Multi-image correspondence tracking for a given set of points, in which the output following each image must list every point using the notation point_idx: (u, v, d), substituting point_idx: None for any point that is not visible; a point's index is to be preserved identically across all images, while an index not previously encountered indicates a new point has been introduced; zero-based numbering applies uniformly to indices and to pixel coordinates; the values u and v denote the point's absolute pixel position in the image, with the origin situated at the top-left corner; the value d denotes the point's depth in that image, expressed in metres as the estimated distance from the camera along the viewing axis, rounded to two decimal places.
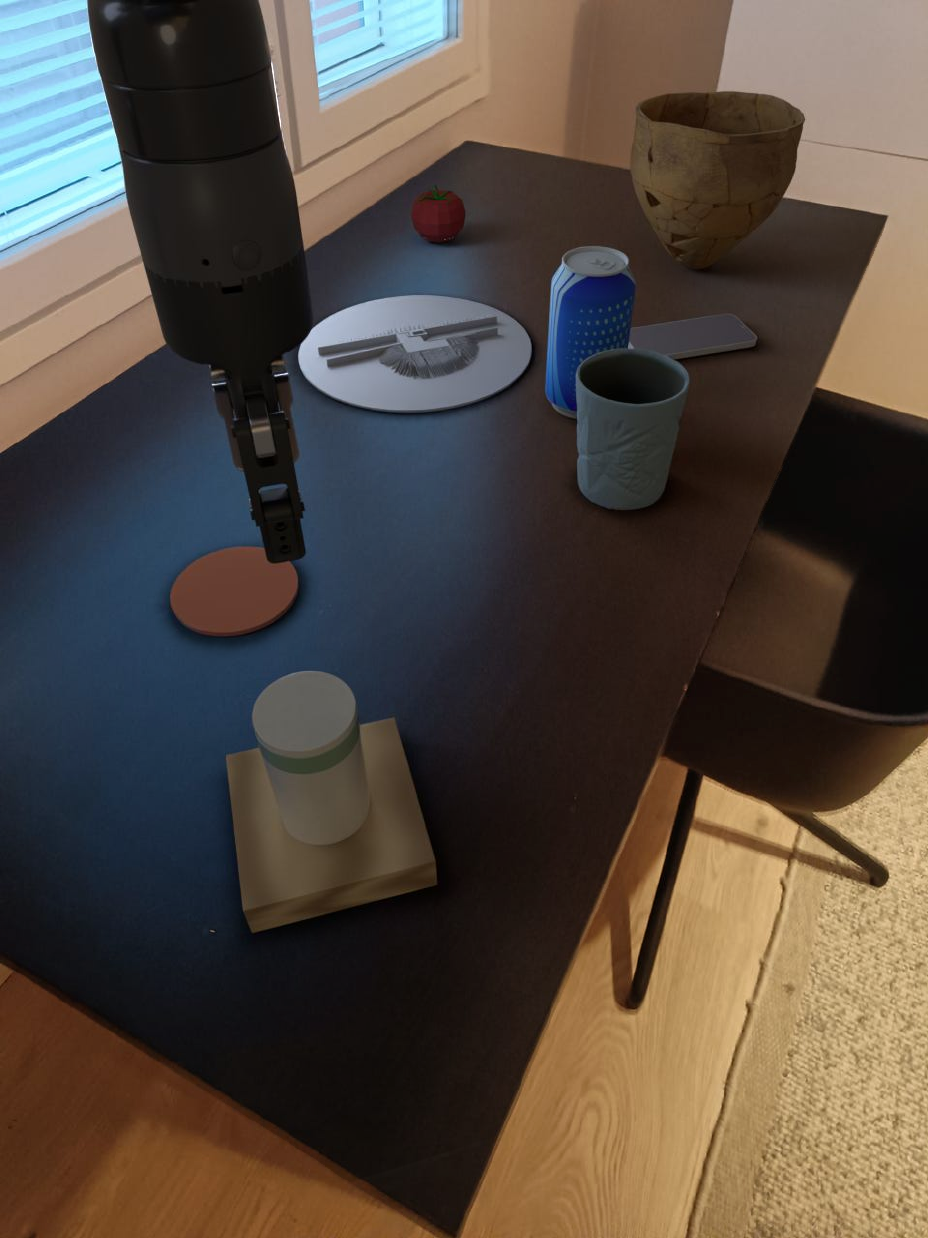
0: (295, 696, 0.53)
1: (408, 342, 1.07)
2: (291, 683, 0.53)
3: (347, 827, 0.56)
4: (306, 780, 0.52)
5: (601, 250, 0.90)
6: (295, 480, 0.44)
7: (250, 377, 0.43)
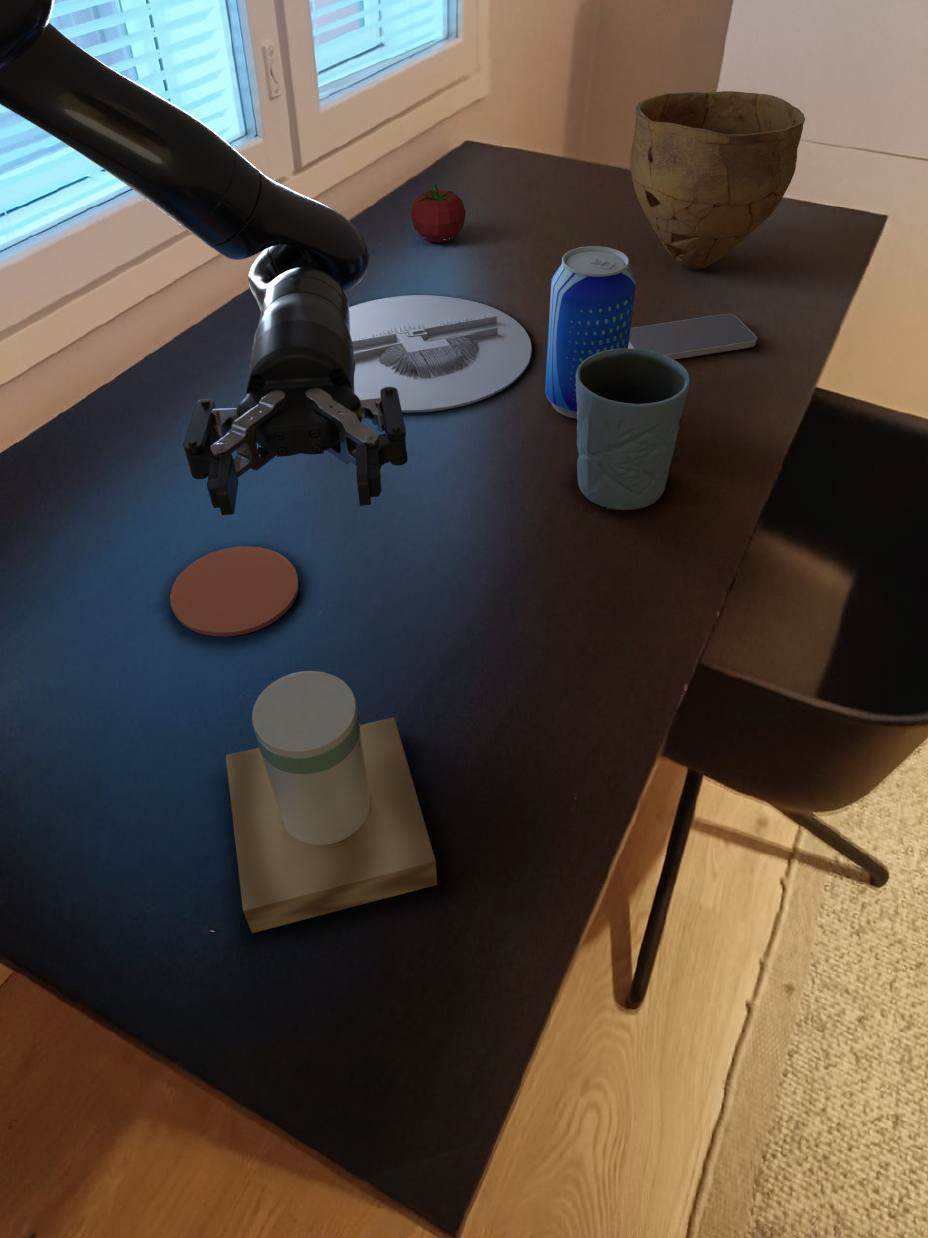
0: (295, 696, 0.53)
1: (408, 342, 1.07)
2: (291, 683, 0.53)
3: (347, 827, 0.56)
4: (306, 780, 0.52)
5: (601, 250, 0.90)
6: None
7: None
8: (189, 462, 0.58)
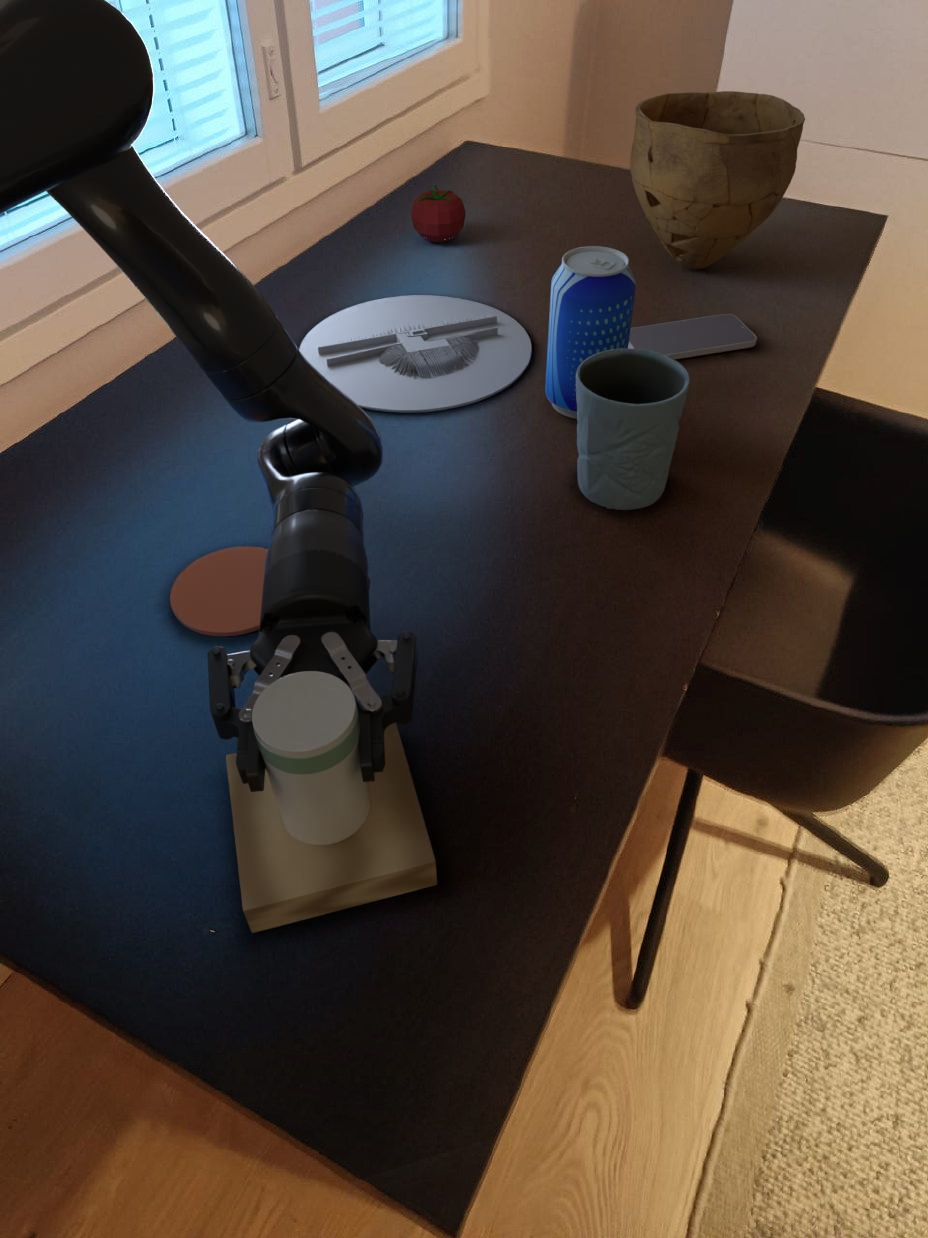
0: (295, 696, 0.53)
1: (408, 342, 1.07)
2: (291, 683, 0.53)
3: (347, 827, 0.56)
4: (306, 781, 0.52)
5: (601, 250, 0.90)
6: (414, 693, 0.59)
7: None
8: (216, 725, 0.56)
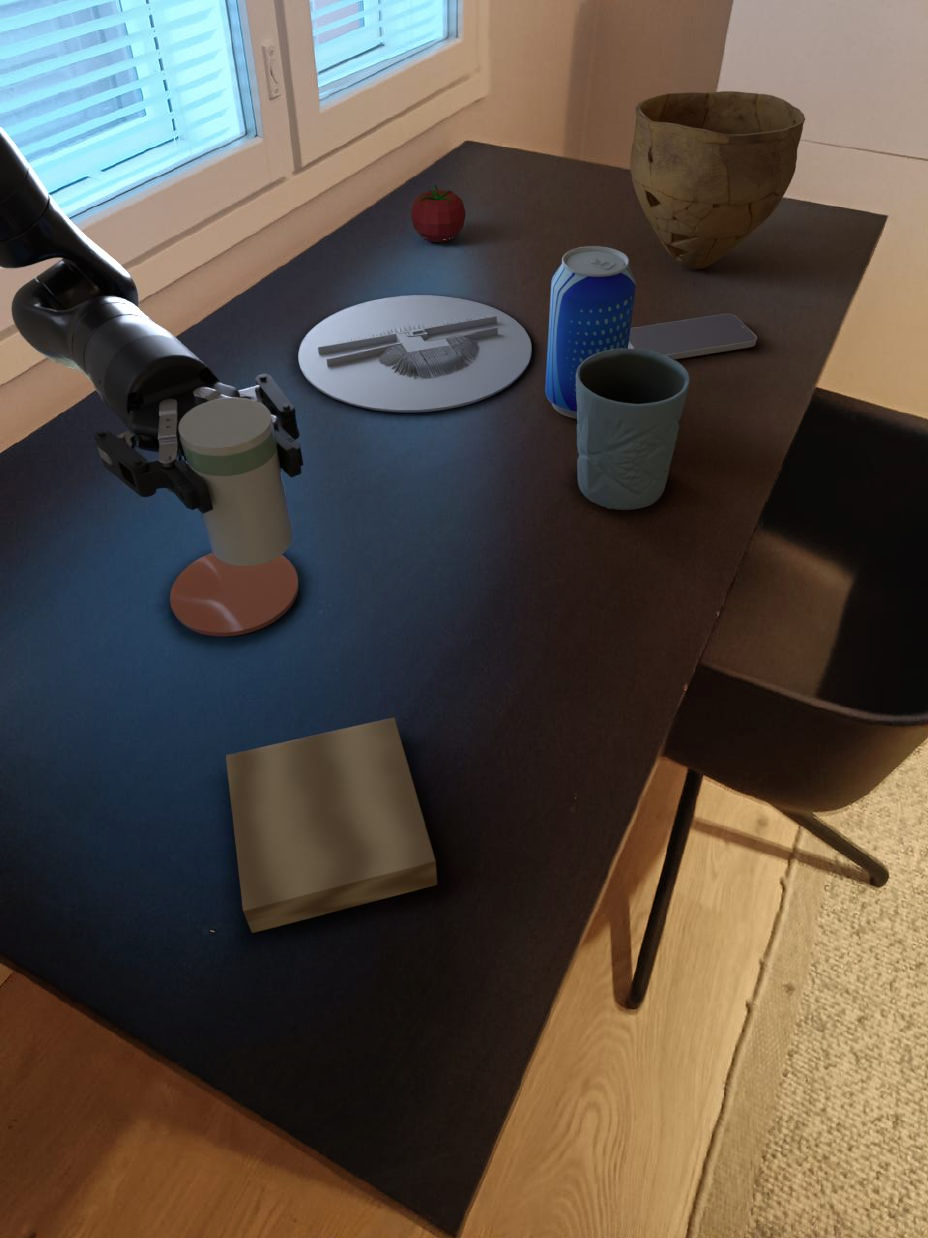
0: (211, 417, 0.59)
1: (408, 342, 1.07)
2: (200, 411, 0.59)
3: (285, 537, 0.64)
4: (251, 479, 0.59)
5: (601, 250, 0.90)
6: None
7: None
8: (139, 482, 0.60)
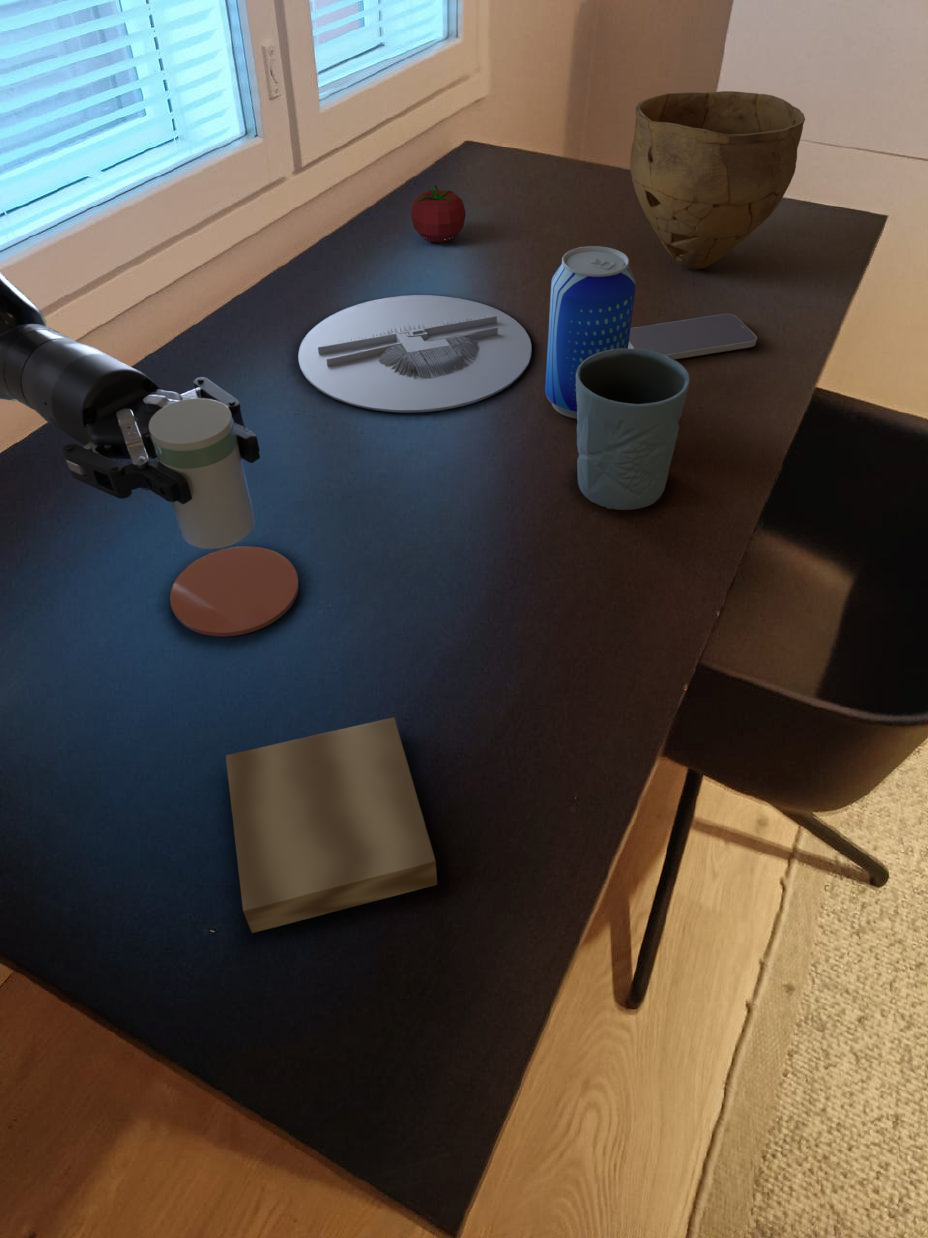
0: (175, 418, 0.66)
1: (408, 342, 1.07)
2: (163, 414, 0.66)
3: (251, 517, 0.72)
4: (222, 468, 0.67)
5: (601, 250, 0.90)
6: None
7: None
8: (117, 485, 0.66)
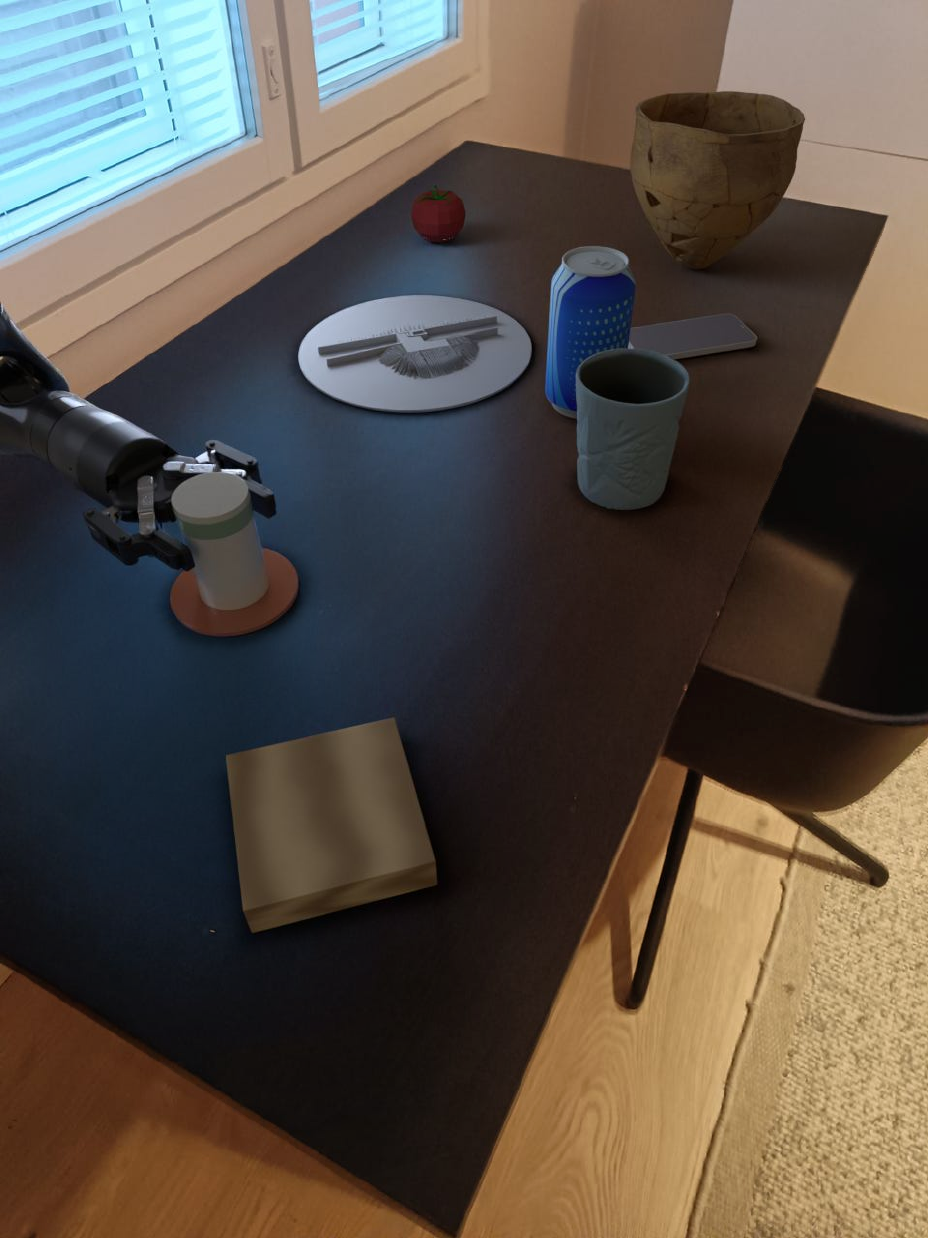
0: (196, 492, 0.71)
1: (408, 342, 1.07)
2: (185, 489, 0.71)
3: (265, 579, 0.77)
4: (239, 538, 0.71)
5: (601, 250, 0.90)
6: None
7: None
8: (125, 553, 0.70)
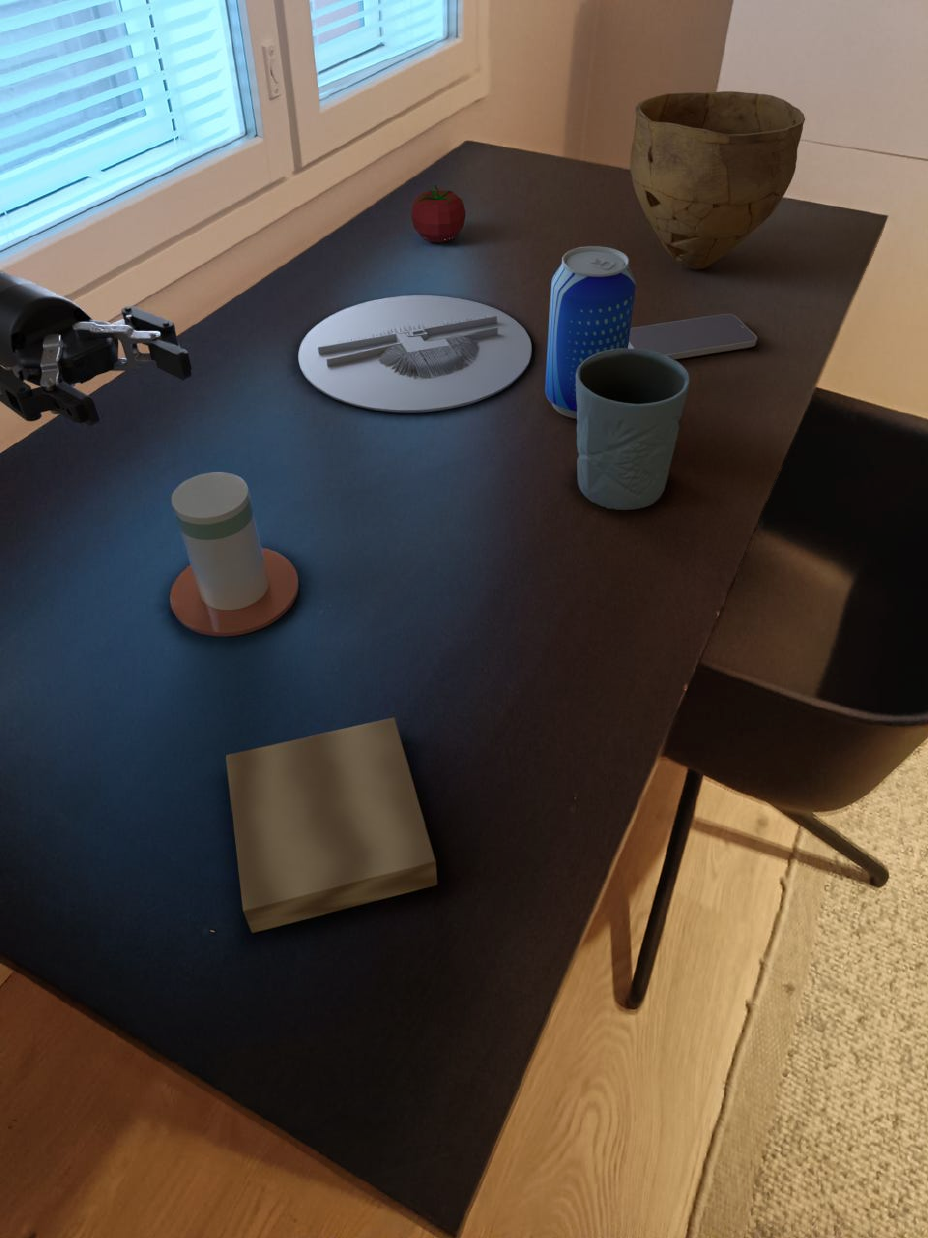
0: (196, 492, 0.71)
1: (408, 342, 1.07)
2: (185, 489, 0.71)
3: (265, 579, 0.77)
4: (239, 538, 0.71)
5: (601, 250, 0.90)
6: None
7: None
8: (25, 407, 0.66)
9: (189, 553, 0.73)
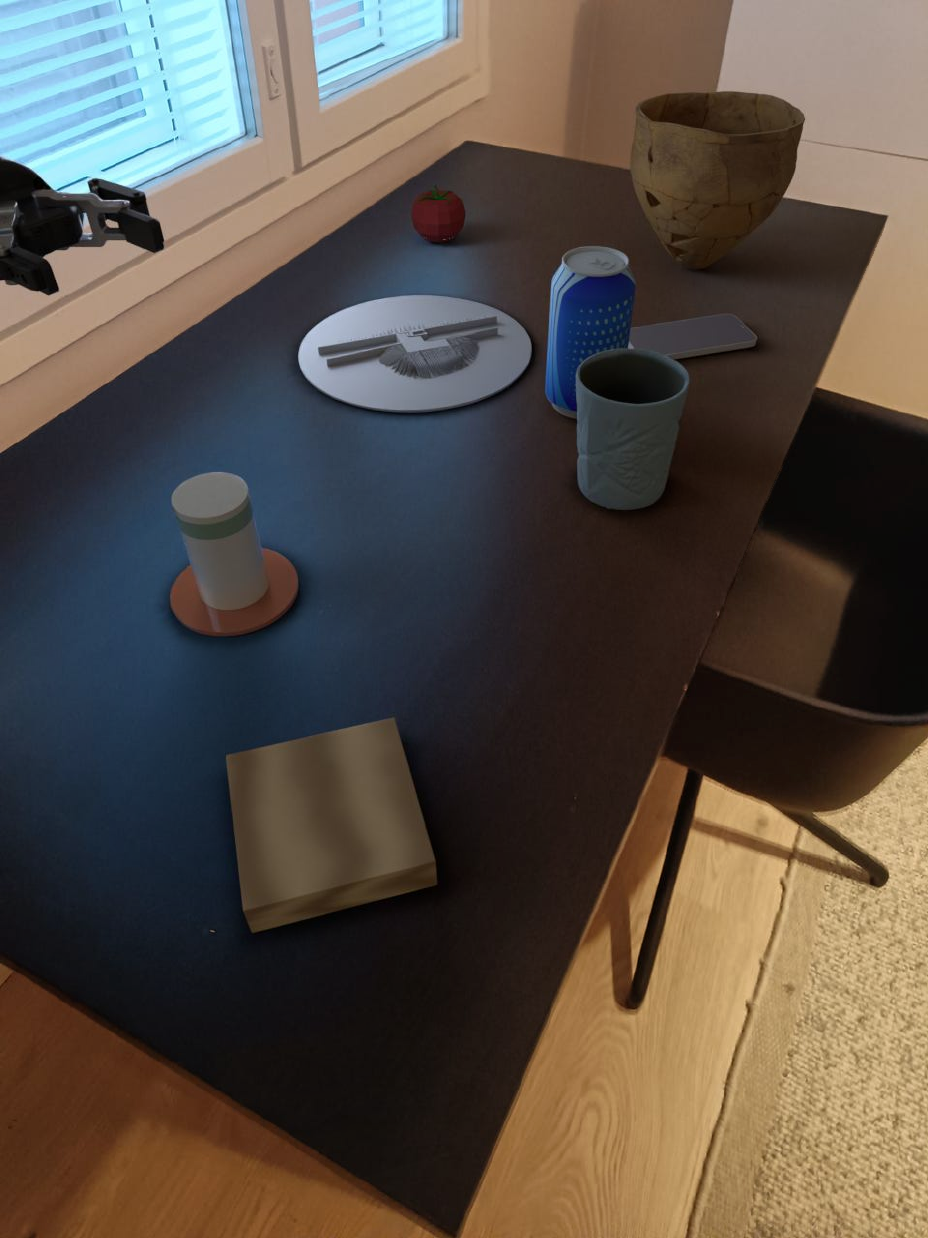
0: (196, 492, 0.71)
1: (408, 342, 1.07)
2: (185, 489, 0.71)
3: (265, 579, 0.77)
4: (239, 538, 0.71)
5: (601, 250, 0.90)
6: None
7: None
8: None
9: (189, 553, 0.73)
